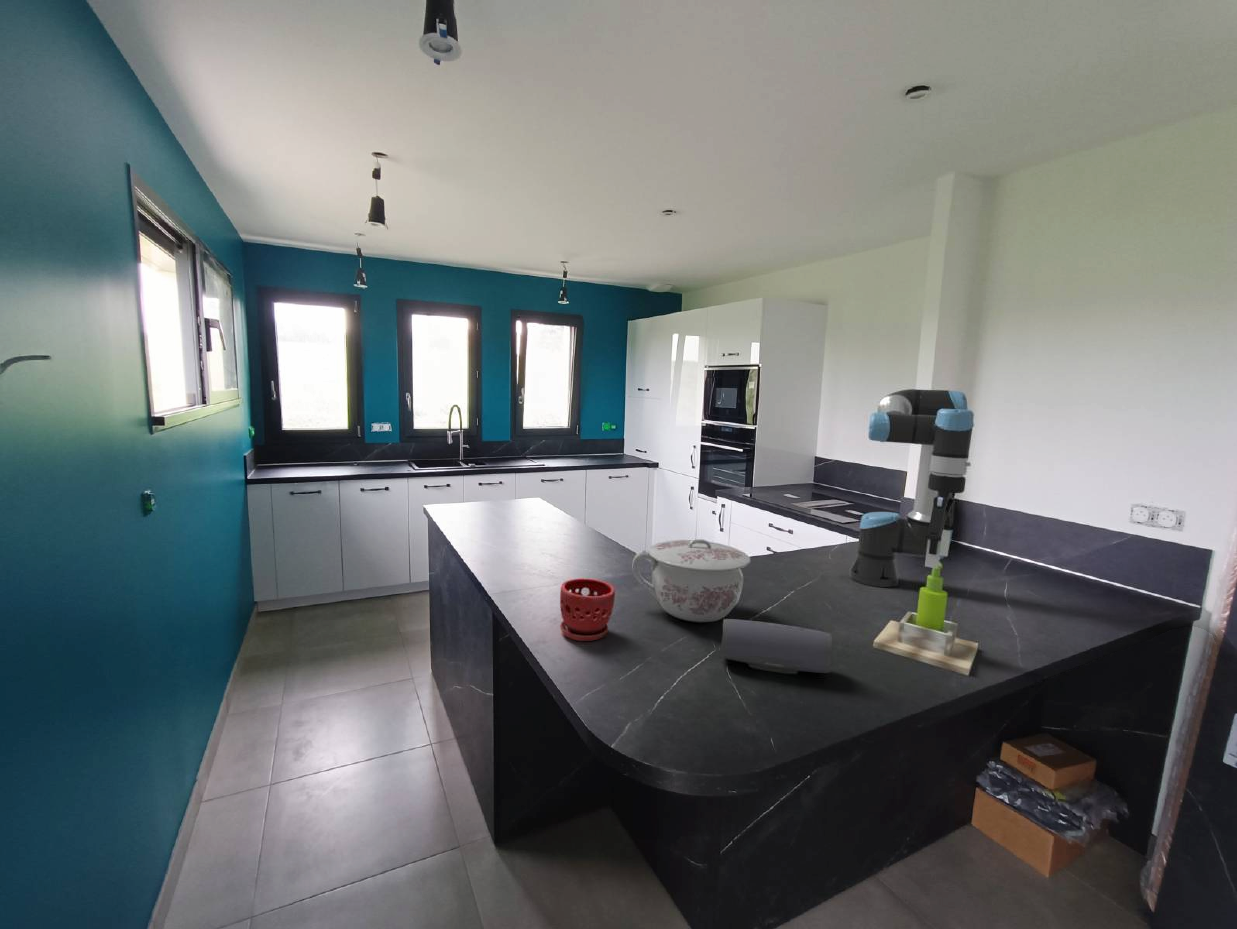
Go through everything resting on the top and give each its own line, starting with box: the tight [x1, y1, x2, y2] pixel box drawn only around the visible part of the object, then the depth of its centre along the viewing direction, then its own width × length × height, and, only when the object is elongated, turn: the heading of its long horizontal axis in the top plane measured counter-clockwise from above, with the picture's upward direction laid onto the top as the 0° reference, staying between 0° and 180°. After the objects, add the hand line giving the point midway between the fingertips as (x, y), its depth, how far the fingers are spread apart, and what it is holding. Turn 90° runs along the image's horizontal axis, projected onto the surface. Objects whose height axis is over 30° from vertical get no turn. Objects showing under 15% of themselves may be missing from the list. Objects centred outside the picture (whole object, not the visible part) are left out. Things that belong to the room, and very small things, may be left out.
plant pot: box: [559, 578, 616, 642], centre depth 134 cm, size 13×13×12 cm
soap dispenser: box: [916, 561, 948, 632], centre depth 136 cm, size 6×7×20 cm
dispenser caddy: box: [872, 611, 979, 676], centre depth 136 cm, size 20×18×6 cm
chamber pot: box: [631, 538, 751, 623], centre depth 151 cm, size 28×28×21 cm
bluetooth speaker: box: [720, 618, 833, 675], centre depth 122 cm, size 23×9×10 cm, turn 77°
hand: (936, 561), depth 134 cm, fingers open, 13 cm apart
